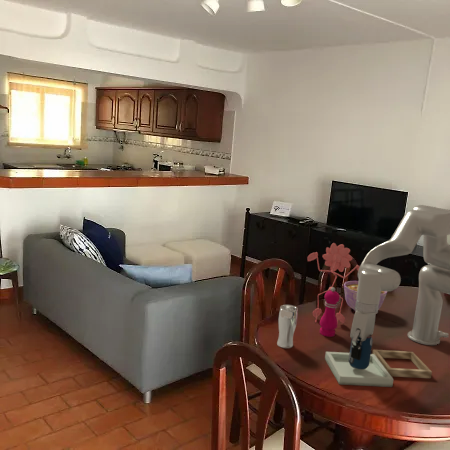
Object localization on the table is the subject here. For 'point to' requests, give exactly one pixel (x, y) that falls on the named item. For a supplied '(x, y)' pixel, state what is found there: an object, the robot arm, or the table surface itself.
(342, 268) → the figurine
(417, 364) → the oak frame
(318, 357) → the table surface
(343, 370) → the sage dish
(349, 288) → the bowl of food
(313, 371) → the table surface
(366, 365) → the soda can
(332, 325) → the pepper mill
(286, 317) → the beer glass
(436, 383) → the table surface
